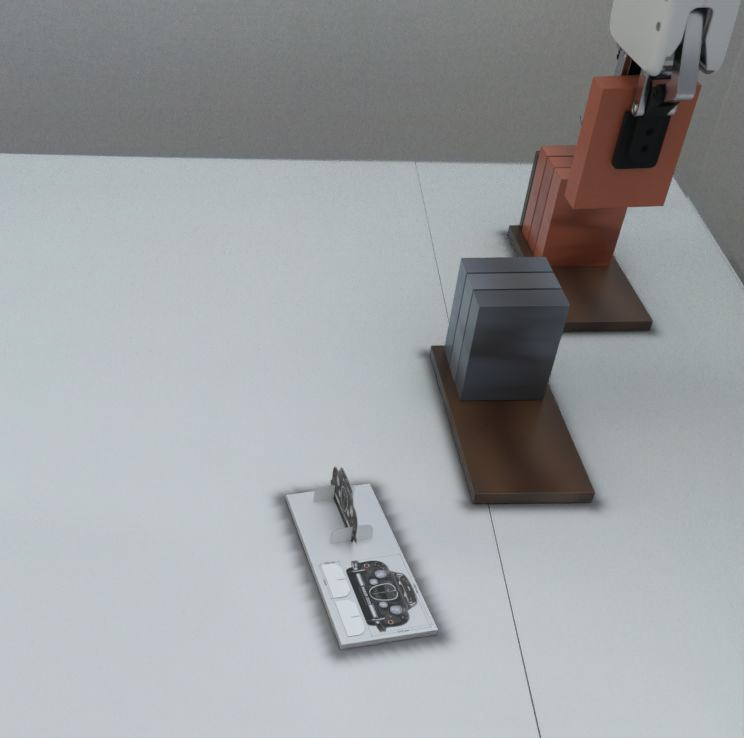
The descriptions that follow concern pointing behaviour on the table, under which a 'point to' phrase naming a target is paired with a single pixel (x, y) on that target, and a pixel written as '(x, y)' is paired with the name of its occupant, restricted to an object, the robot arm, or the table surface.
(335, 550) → the car cutout
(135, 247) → the table surface
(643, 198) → the terracotta book
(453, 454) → the table surface
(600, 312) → the terracotta shelf
